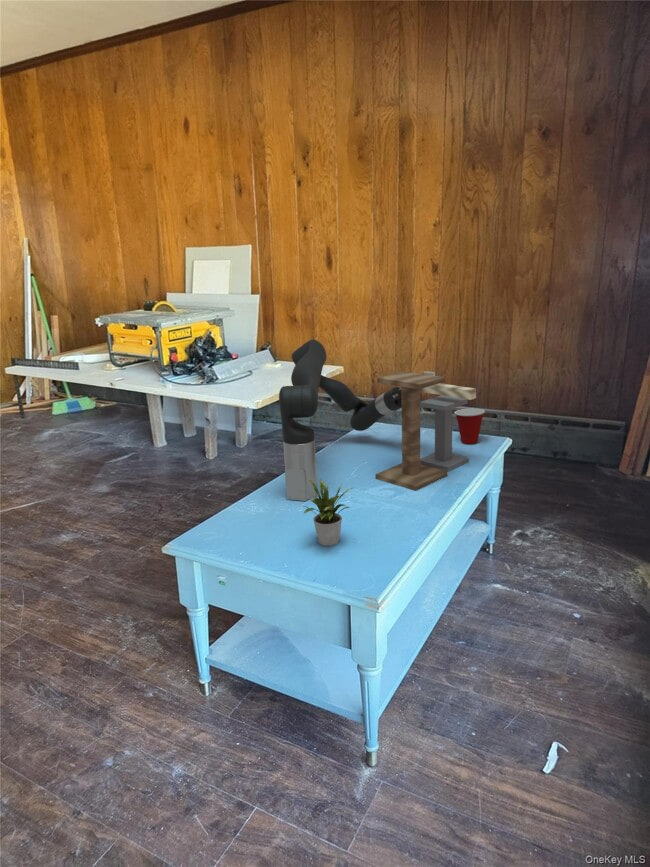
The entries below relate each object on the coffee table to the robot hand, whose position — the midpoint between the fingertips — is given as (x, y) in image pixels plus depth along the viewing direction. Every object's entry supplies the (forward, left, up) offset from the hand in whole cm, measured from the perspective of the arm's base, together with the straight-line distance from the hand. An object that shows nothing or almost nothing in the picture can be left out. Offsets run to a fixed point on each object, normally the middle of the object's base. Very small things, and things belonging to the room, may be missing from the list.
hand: (425, 382), depth 197 cm
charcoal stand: (-3, -7, -27) cm, 28 cm away
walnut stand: (-19, 0, -27) cm, 32 cm away
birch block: (-3, -6, -3) cm, 7 cm away
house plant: (-67, +11, -27) cm, 73 cm away
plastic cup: (+21, -12, -27) cm, 36 cm away
